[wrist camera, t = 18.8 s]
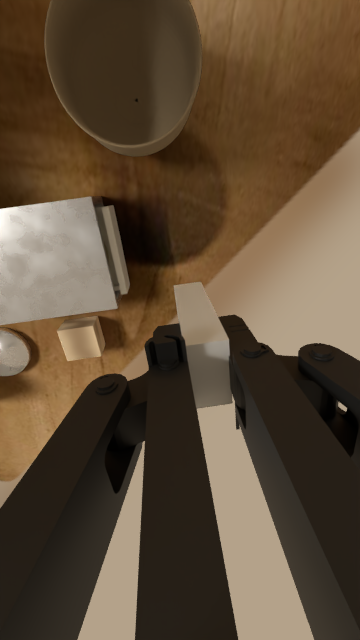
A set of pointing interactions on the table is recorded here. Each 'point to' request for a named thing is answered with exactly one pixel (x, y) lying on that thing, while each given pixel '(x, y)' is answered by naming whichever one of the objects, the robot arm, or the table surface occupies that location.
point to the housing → (53, 261)
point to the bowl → (125, 68)
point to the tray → (113, 247)
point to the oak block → (81, 338)
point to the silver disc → (13, 352)
